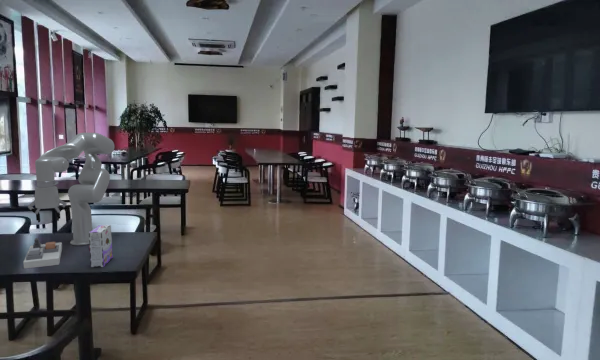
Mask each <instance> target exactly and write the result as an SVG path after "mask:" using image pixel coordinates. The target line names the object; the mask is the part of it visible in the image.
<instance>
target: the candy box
mask: <svg viewBox="0 0 600 360" xmlns="http://www.w3.org/2000/svg"><path fill="white" fill-rule="evenodd" d="M89 245H90V251H89V255H90V256H89V257H90V258H89V261H90V268H105V266H106V265H107V264H108V263H109V262H110V261H111V260H112V259H113V258H114V257H113V256H114V255H113V254H114V253H113V238H112V225H111V224H101V225H98V226H96V227H94V228H92V231H90V232H89V244H88V246H89Z"/></svg>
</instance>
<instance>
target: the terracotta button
mask: <svg viewBox="0 0 600 360" xmlns="http://www.w3.org/2000/svg"><path fill="white" fill-rule="evenodd" d="M56 243H57V242H56V241H48V242H47V241H46V242H45V243H44V244H45V245H46V249H54V248H55V247H56Z"/></svg>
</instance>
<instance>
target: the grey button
mask: <svg viewBox="0 0 600 360" xmlns="http://www.w3.org/2000/svg"><path fill="white" fill-rule="evenodd" d="M28 250H29V256H35V255H39V254H40V248H32V249H29V248H28Z"/></svg>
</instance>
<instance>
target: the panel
mask: <svg viewBox="0 0 600 360" xmlns="http://www.w3.org/2000/svg"><path fill="white" fill-rule="evenodd" d="M55 243H56V247H55V248H54V249H46V245H45V244H46V243H43V244H42V243H41V247H40V254H39V255H35V256H29V249H32V248H33V245H32V244H31V245H30V246H29V248H28V251H27V253H26V254H25V257H24V260H23V262H22V263H23V270H25V269H33V268H41V267H43V268H44V267H52V266H58V265H60V261H61V257H62V250H63V243H62V242H55Z"/></svg>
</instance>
